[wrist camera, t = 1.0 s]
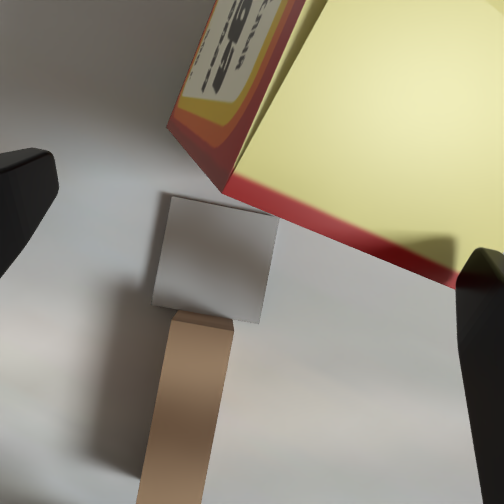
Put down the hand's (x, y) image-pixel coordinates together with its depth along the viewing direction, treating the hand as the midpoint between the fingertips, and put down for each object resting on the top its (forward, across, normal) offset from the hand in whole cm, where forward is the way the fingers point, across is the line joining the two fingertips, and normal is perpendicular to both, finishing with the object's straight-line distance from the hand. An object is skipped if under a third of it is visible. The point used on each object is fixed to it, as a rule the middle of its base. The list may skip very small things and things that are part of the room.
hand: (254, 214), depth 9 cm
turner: (+7, +2, +14) cm, 16 cm away
